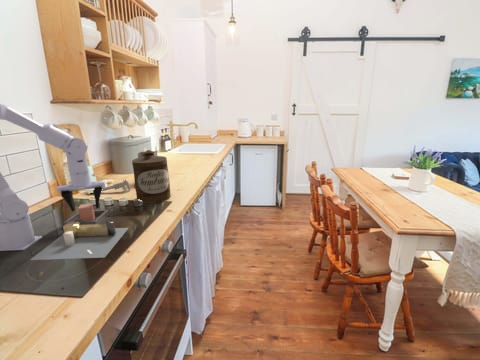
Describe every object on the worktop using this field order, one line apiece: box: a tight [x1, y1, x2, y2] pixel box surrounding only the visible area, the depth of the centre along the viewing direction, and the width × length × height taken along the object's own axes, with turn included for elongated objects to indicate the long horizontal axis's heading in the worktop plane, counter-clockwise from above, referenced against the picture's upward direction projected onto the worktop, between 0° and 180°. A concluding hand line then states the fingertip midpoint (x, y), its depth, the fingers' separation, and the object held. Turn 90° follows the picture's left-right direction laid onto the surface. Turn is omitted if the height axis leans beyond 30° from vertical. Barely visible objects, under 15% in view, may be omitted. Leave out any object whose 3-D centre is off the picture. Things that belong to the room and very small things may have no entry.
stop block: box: [77, 202, 96, 221], centre depth 95 cm, size 4×4×6 cm
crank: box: [62, 220, 116, 239], centre depth 83 cm, size 15×4×4 cm, turn 92°
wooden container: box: [131, 149, 171, 204], centre depth 118 cm, size 15×15×22 cm
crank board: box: [30, 227, 129, 261], centre depth 80 cm, size 20×18×5 cm
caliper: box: [84, 179, 131, 195], centre depth 129 cm, size 20×1×6 cm, turn 103°
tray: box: [62, 209, 111, 226], centre depth 96 cm, size 11×11×2 cm
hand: (85, 208), depth 95 cm, fingers open, 7 cm apart
